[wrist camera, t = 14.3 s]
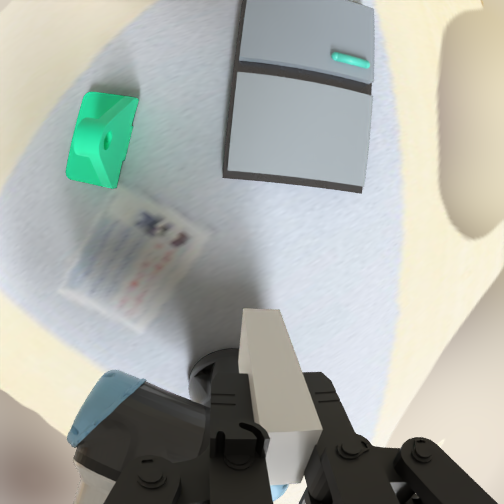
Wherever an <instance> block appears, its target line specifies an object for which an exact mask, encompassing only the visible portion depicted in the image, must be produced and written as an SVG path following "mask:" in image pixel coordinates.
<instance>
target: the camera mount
mask: <svg viewBox="0 0 504 504" xmlns="http://www.w3.org/2000/svg"><path fill="white" fill-rule="evenodd" d="M138 102H139V99H137V98H135V97H129V96H122V95H115V94H107V93H99V92H88V93H87V94H85V96H84V97H83V100H82V104H81V107H80V111H79V114H78V118H77V122H76V126H75V130H74V134H73V138H72V142H71V147H70V152H69V156H68V161H67V167H66V176H67V177H68V178H69V179H71V180H75V181H80V182H84V183H89V184H94V185H98V186H102V187H107V188H111V189H114V188H117V184H118V179H119V174H120V170H121V165H122V161H125V157H126V153H127V149H128V145H129V141H130V137H131V134H132V130H133V126H132V122H133V119H134V115H135V112H136V108H137V105H138Z"/></svg>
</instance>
